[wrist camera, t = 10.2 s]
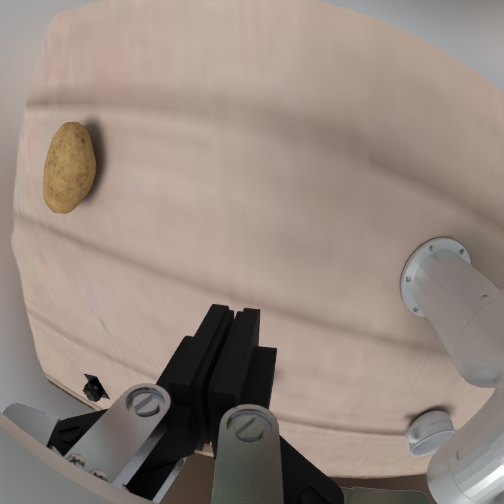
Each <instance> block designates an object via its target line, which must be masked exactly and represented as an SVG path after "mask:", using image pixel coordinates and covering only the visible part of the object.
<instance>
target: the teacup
mask: <svg viewBox="0 0 504 504" xmlns="http://www.w3.org/2000/svg"><path fill="white" fill-rule="evenodd" d="M455 433H456V432H455V430H454V427H453V424H452V421H451V419H450V417H449V415H448V414H447V413H446V412H443V411H430V412H427V413H425V414H423V415H421V416H420V417H418V418H417V419H416V420H415V421H414V422H413V423H412V425H411V426H410V427H409V428H408V429H407V430H406V432H405V437H406V439H407V441H408V442H409V445H410V454H411V455H413V456H423V455H427V454H430V453H433V452H435V451H437V450H438V449H439V448H440V447H441V446H442V445H443V444H444V443H445V442H446V441H447V440H448V439H449V438H450V437H452V436H453V435H454V434H455Z"/></svg>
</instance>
